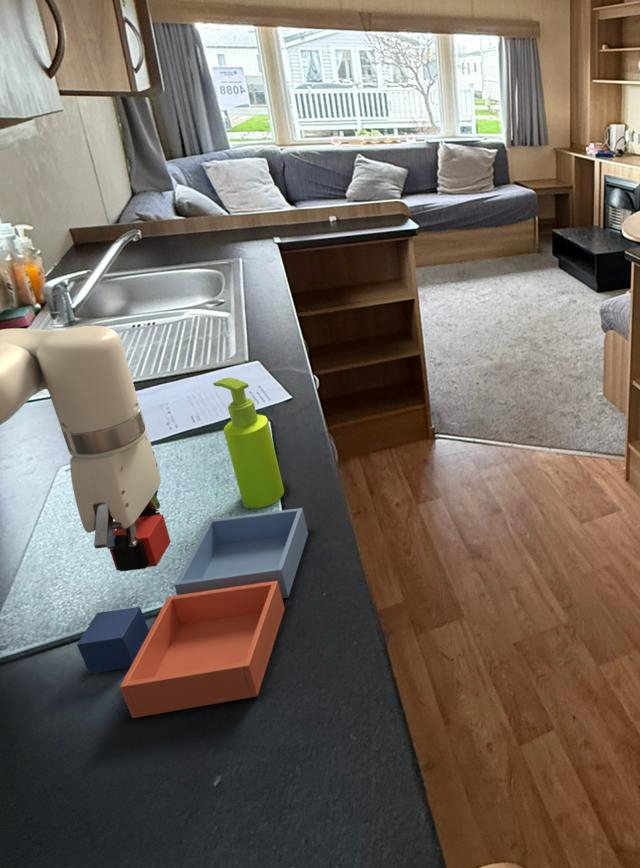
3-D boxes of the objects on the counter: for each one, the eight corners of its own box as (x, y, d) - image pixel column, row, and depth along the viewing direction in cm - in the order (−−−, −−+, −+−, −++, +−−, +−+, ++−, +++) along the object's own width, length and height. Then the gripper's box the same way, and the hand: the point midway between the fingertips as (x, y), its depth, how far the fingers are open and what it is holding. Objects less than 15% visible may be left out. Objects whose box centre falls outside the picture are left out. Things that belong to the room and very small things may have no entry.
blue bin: (183, 613, 80) (173, 585, 79) (216, 545, 91) (208, 519, 90) (288, 597, 83) (281, 569, 81) (308, 533, 94) (302, 507, 92)
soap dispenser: (262, 479, 106) (235, 369, 98) (292, 490, 103) (267, 378, 95) (229, 500, 101) (198, 386, 93) (260, 512, 98) (230, 396, 90)
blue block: (88, 674, 72) (76, 644, 71) (108, 641, 77) (97, 612, 75) (133, 666, 73) (122, 637, 72) (150, 634, 77) (140, 606, 76)
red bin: (132, 718, 68) (119, 687, 66) (177, 625, 79) (167, 596, 77) (257, 696, 70) (248, 665, 68) (285, 608, 81) (277, 580, 79)
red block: (116, 571, 80) (106, 542, 79) (132, 546, 85) (124, 518, 83) (156, 566, 81) (148, 537, 80) (171, 541, 85) (163, 514, 84)
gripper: (105, 398, 83) (140, 514, 90) (25, 475, 68) (74, 609, 74) (170, 393, 84) (199, 508, 91) (106, 468, 69) (147, 599, 76)
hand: (143, 552), depth 83 cm, fingers closed on red block, 4 cm apart
